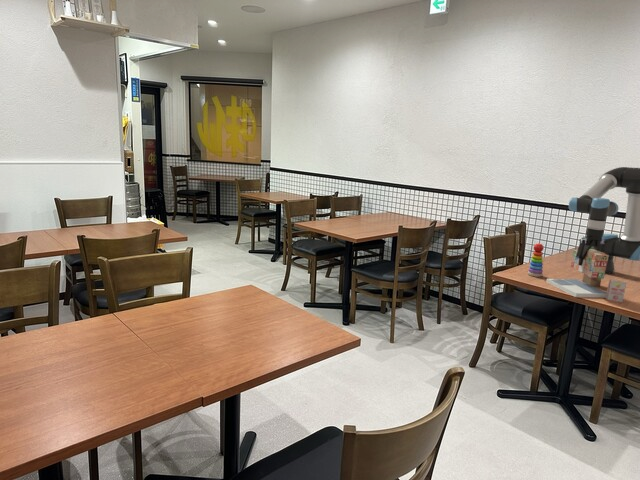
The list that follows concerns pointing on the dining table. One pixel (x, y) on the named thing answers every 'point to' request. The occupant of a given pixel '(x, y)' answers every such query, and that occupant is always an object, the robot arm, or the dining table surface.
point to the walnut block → (591, 281)
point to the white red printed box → (615, 291)
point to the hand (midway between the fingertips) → (587, 271)
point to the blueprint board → (577, 288)
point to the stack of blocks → (592, 263)
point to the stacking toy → (536, 261)
